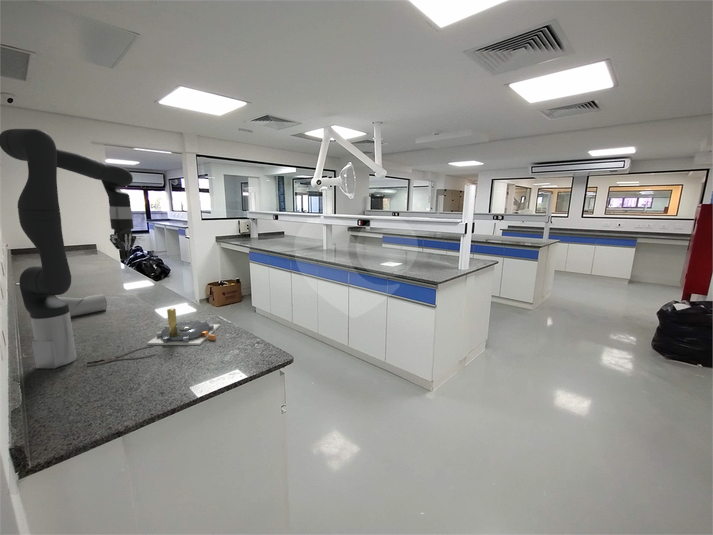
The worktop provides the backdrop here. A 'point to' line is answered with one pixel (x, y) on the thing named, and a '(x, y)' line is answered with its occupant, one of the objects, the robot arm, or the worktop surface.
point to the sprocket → (183, 329)
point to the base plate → (191, 342)
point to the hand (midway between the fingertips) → (126, 258)
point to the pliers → (117, 358)
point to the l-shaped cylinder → (85, 304)
